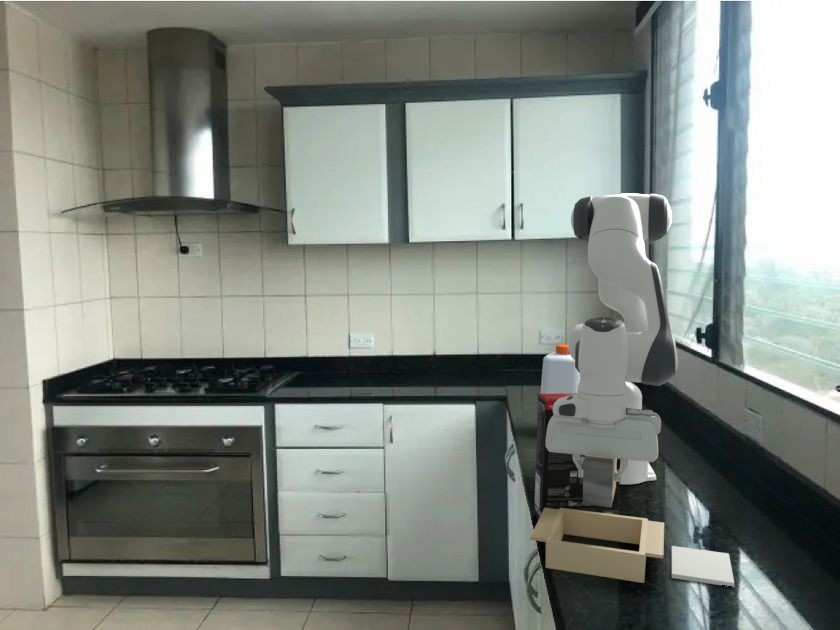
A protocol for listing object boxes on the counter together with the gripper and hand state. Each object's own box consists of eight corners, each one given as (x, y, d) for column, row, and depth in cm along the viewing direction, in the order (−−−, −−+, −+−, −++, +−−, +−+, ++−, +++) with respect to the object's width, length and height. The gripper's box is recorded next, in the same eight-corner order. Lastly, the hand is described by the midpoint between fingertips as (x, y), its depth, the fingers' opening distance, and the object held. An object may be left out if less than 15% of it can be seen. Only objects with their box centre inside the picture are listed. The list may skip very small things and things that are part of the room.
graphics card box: (609, 511, 152) (612, 389, 149) (621, 524, 145) (625, 396, 142) (533, 515, 150) (534, 391, 147) (542, 528, 143) (544, 398, 140)
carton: (544, 529, 142) (545, 505, 142) (663, 545, 134) (664, 520, 134) (529, 565, 126) (529, 538, 126) (662, 585, 118) (663, 557, 118)
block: (589, 483, 135) (590, 444, 134) (615, 486, 134) (616, 446, 133) (582, 503, 125) (583, 460, 124) (611, 507, 123) (612, 463, 122)
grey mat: (671, 549, 132) (671, 545, 132) (728, 557, 129) (728, 553, 129) (671, 578, 121) (671, 573, 121) (734, 587, 118) (734, 582, 118)
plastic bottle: (593, 432, 217) (595, 343, 214) (584, 444, 203) (586, 350, 200) (546, 426, 223) (547, 340, 220) (533, 438, 209) (535, 347, 207)
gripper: (661, 406, 127) (659, 479, 128) (549, 398, 134) (548, 467, 135) (661, 414, 121) (658, 491, 122) (544, 406, 128) (543, 478, 129)
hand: (600, 478), depth 129 cm, fingers closed on block, 5 cm apart
